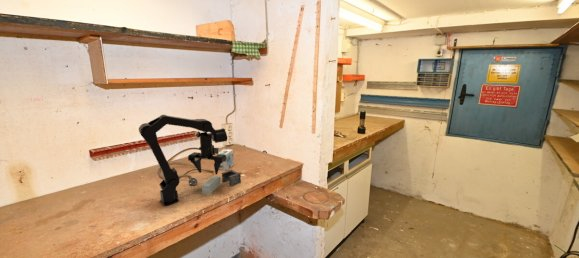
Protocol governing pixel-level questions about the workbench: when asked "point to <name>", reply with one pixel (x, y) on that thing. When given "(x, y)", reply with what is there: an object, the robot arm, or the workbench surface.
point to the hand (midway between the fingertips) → (208, 173)
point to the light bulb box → (230, 159)
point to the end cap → (231, 177)
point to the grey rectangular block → (211, 185)
